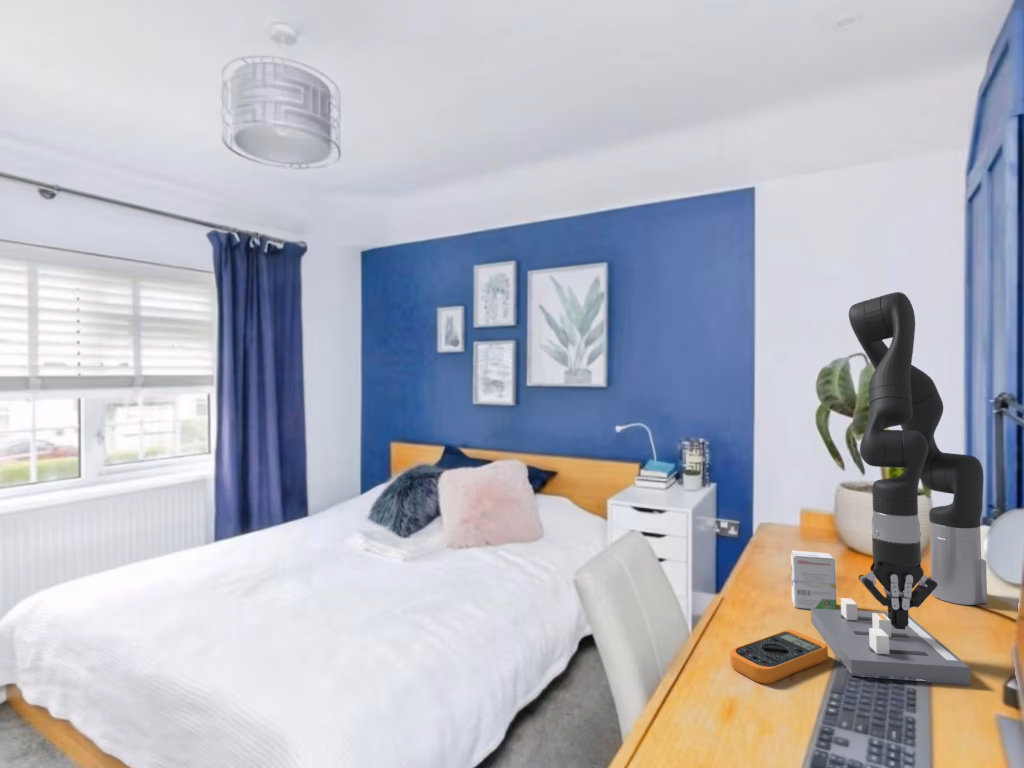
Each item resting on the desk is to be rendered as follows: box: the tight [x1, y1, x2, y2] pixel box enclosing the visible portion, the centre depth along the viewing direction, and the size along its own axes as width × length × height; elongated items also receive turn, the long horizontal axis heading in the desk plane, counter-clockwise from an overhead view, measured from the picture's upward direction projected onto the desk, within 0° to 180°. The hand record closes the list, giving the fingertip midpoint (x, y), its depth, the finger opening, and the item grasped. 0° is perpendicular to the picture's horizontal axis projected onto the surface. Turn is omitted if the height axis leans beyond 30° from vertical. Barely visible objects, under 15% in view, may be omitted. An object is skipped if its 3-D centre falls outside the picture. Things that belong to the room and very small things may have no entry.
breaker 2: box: [869, 628, 889, 654], centre depth 100 cm, size 2×3×3 cm, turn 168°
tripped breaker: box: [872, 613, 891, 637], centre depth 106 cm, size 2×3×3 cm, turn 168°
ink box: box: [790, 549, 837, 610], centre depth 127 cm, size 9×5×12 cm, turn 70°
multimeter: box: [729, 628, 829, 685], centre depth 103 cm, size 9×18×3 cm, turn 117°
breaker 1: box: [840, 597, 858, 620], centre depth 114 cm, size 2×3×3 cm, turn 168°
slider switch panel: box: [810, 608, 971, 686], centre depth 106 cm, size 18×22×3 cm
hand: (898, 627), depth 105 cm, fingers closed
